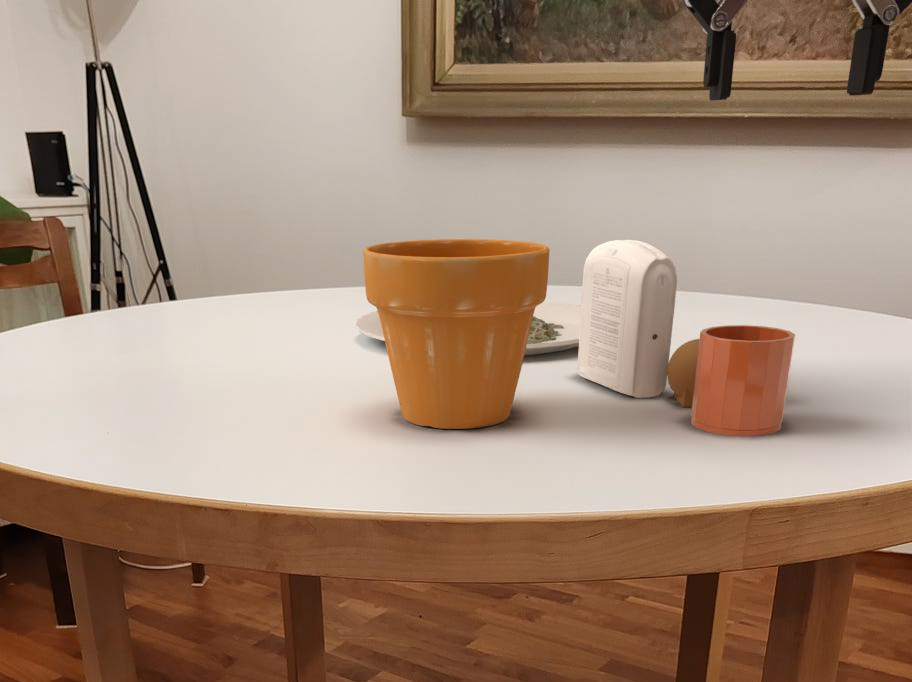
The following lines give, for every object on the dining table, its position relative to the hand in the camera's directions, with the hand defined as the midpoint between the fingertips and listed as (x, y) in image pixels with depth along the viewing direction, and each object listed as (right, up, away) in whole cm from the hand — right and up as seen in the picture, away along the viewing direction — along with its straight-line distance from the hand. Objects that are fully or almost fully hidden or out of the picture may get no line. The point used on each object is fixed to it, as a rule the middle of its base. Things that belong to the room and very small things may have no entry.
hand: (789, 97), depth 68 cm
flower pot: (-23, -19, +13) cm, 33 cm away
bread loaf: (-1, -17, +16) cm, 23 cm away
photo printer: (-8, -15, +22) cm, 27 cm away
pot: (-1, -21, +9) cm, 23 cm away
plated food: (-18, -3, +44) cm, 48 cm away
